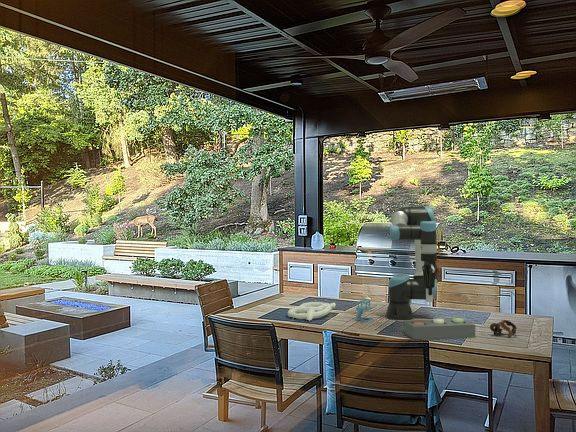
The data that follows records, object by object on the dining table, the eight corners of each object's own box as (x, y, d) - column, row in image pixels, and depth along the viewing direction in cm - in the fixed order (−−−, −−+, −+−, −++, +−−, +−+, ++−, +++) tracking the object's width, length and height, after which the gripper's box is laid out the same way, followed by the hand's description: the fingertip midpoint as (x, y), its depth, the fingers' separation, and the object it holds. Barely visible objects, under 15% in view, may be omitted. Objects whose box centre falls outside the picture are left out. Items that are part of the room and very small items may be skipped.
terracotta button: (411, 328, 228) (411, 321, 228) (421, 327, 228) (421, 321, 228) (415, 330, 223) (415, 324, 223) (425, 330, 223) (425, 323, 223)
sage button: (451, 323, 230) (451, 317, 230) (460, 323, 230) (460, 317, 230) (455, 326, 225) (455, 320, 225) (465, 325, 225) (465, 319, 225)
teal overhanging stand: (359, 318, 267) (359, 297, 267) (373, 319, 263) (373, 298, 263) (354, 320, 260) (354, 299, 260) (368, 322, 256) (368, 300, 256)
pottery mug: (504, 333, 231) (512, 320, 227) (513, 346, 222) (522, 332, 219) (483, 328, 229) (491, 314, 225) (491, 341, 220) (500, 327, 217)
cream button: (431, 324, 229) (431, 318, 229) (441, 324, 229) (441, 318, 229) (435, 327, 224) (435, 320, 224) (445, 326, 224) (445, 320, 224)
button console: (403, 332, 232) (403, 320, 232) (461, 330, 235) (461, 318, 235) (414, 339, 218) (414, 327, 218) (475, 337, 221) (475, 324, 221)
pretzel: (314, 325, 256) (313, 314, 256) (281, 321, 271) (280, 311, 271) (341, 310, 278) (340, 300, 278) (309, 308, 293) (308, 298, 293)
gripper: (416, 252, 233) (417, 299, 232) (425, 254, 220) (426, 304, 219) (431, 251, 233) (432, 299, 233) (441, 253, 220) (442, 303, 220)
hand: (429, 301), depth 226 cm, fingers closed
